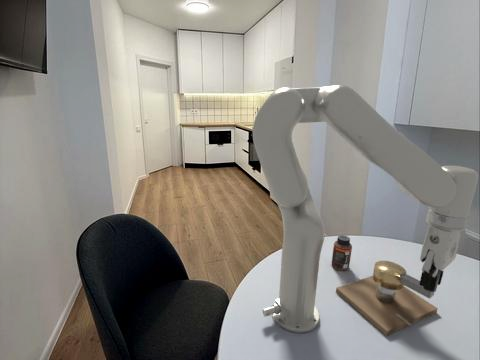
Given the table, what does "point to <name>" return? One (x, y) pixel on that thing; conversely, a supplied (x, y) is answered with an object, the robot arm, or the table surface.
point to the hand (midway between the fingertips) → (429, 284)
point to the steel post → (385, 295)
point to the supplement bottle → (341, 253)
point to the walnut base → (386, 305)
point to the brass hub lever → (399, 278)
